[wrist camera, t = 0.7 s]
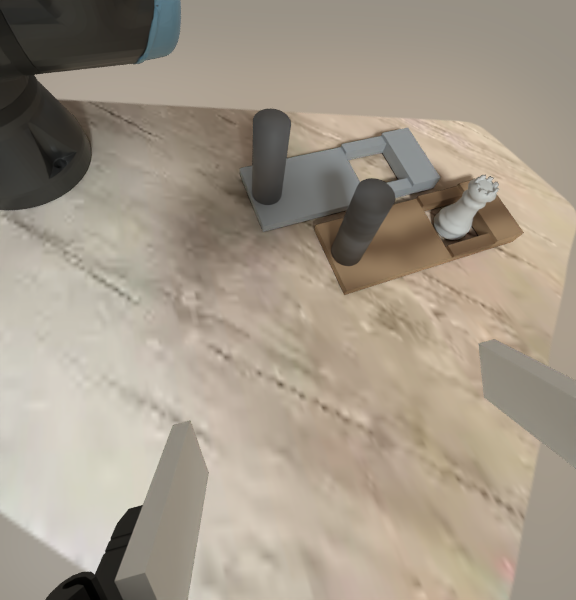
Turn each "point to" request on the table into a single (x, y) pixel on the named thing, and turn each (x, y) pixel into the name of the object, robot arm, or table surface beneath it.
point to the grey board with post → (322, 172)
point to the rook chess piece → (465, 208)
